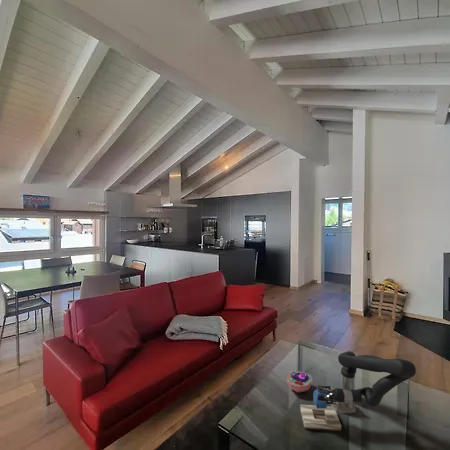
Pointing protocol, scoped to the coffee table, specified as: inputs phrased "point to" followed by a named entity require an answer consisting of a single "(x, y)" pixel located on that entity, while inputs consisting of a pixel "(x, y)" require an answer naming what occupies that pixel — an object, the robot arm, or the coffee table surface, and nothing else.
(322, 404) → the perfume bottle
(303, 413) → the socket plinth
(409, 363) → the robot arm
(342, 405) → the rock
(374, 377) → the coffee table surface
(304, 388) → the cell model
